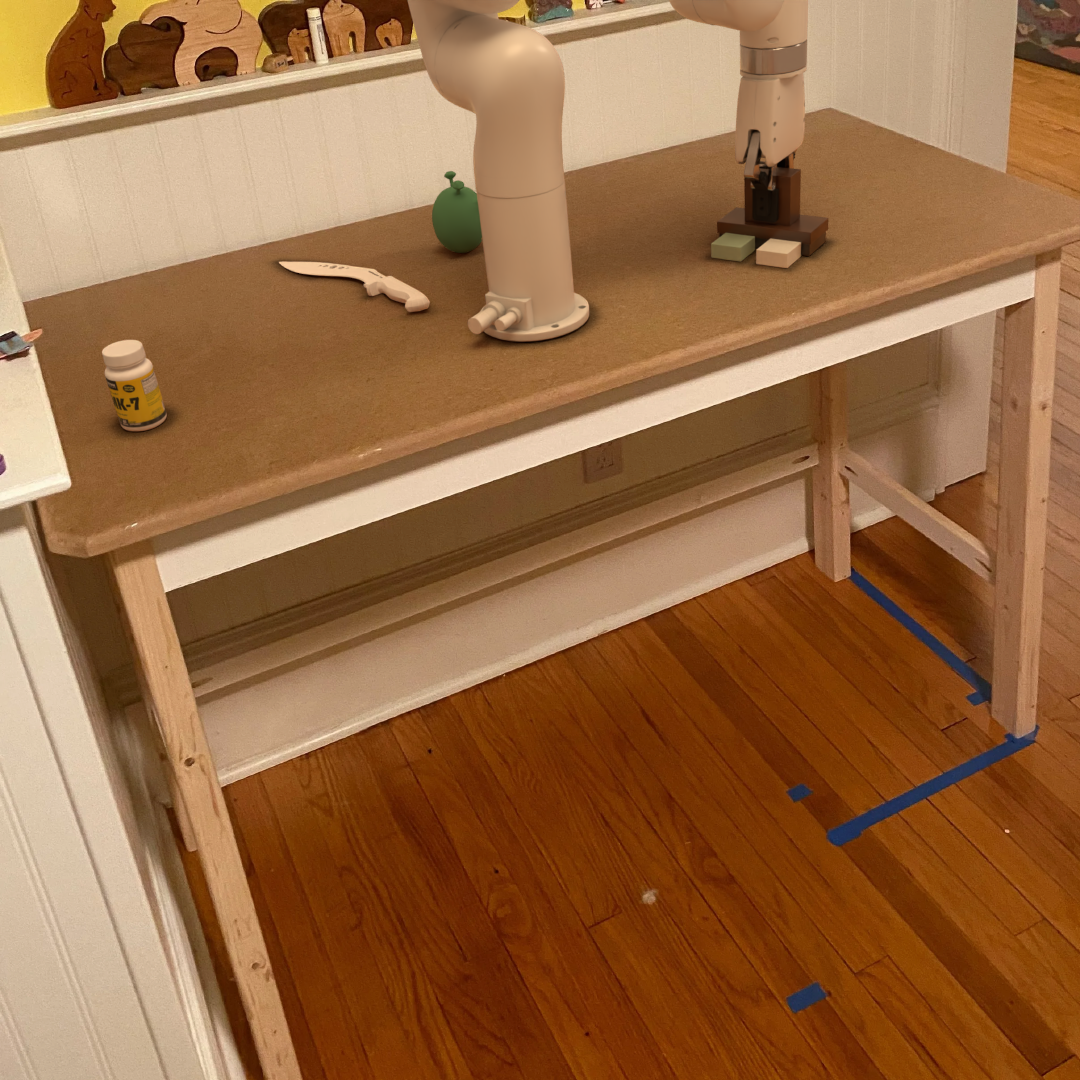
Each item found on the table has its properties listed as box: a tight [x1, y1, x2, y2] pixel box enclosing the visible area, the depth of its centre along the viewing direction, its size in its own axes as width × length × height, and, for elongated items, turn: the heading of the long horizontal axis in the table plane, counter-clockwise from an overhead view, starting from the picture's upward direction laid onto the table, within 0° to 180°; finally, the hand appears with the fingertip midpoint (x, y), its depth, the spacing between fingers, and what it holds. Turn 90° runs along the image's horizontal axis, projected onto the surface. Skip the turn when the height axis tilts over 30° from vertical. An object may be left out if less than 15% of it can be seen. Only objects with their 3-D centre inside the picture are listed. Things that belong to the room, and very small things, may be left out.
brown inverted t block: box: [716, 167, 829, 257], centre depth 148 cm, size 5×12×9 cm, turn 56°
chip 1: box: [710, 233, 756, 263], centre depth 149 cm, size 4×4×2 cm
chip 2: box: [755, 239, 802, 269], centre depth 146 cm, size 4×4×2 cm
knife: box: [278, 261, 431, 313], centre depth 152 cm, size 30×2×8 cm
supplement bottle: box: [101, 339, 168, 432], centre depth 124 cm, size 5×5×8 cm
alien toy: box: [431, 170, 483, 254], centre depth 156 cm, size 7×8×10 cm
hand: (772, 213), depth 149 cm, fingers closed on brown inverted t block, 3 cm apart
